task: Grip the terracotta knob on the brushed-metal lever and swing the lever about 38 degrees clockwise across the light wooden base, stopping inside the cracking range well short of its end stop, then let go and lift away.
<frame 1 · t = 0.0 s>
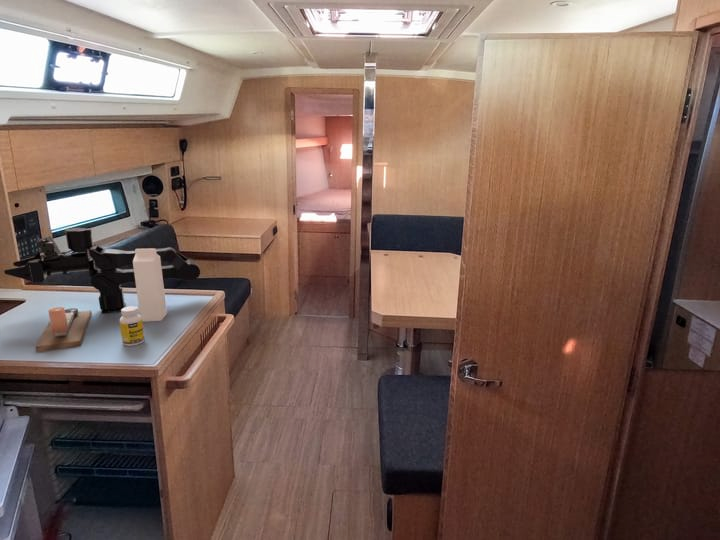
hand: (9, 267, 135), 17 cm above the counter, tool horizontal, fingers open, 9 cm apart
supplement bottle: (134, 342, 125), on the counter
milk: (154, 318, 142), on the counter
lever: (64, 312, 131), point 6 cm above the counter, hinge at 0.0°
light wooden base: (66, 331, 132), on the counter
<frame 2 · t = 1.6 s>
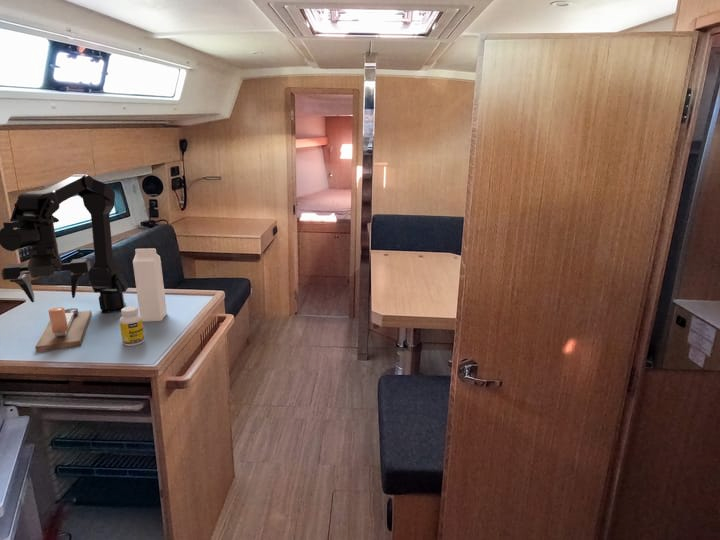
hand: (53, 299, 122), 12 cm above the counter, tool pointing down, fingers open, 9 cm apart
nothing on the counter moved.
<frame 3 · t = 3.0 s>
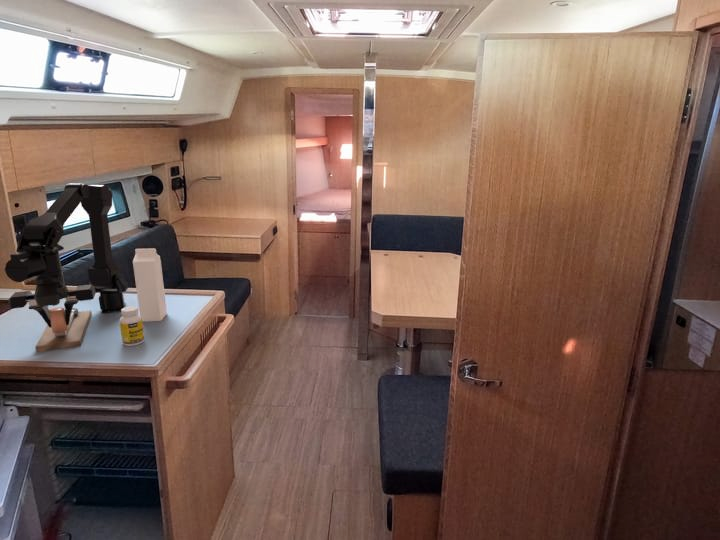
hand: (59, 325, 124), 5 cm above the counter, tool pointing down, fingers closed on lever, 4 cm apart
lever: (64, 312, 131), point 6 cm above the counter, hinge at 0.0°, touching gripper
everything else where it was.
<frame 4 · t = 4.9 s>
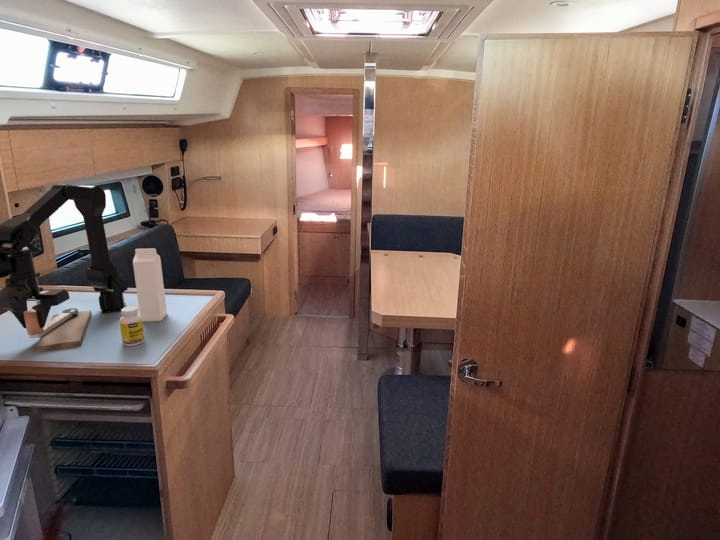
hand: (34, 327, 123), 4 cm above the counter, tool pointing down, fingers open, 4 cm apart
lever: (52, 312, 130), point 6 cm above the counter, hinge at 21.3°, touching gripper
everything else where it was.
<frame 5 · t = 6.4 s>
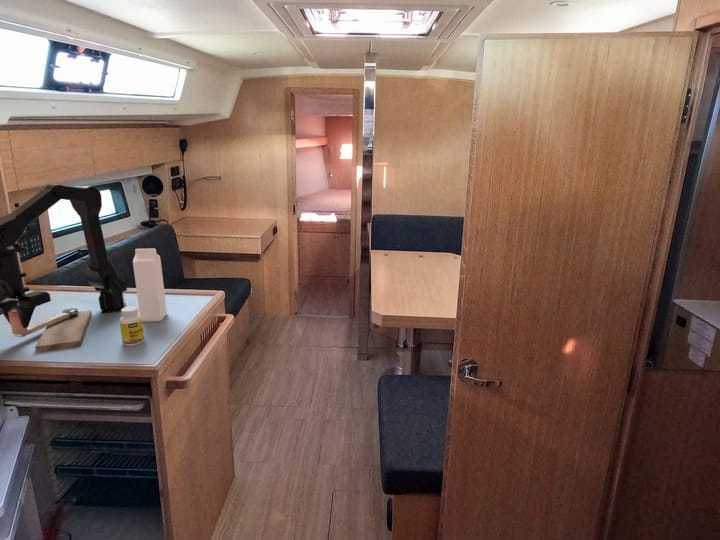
hand: (19, 326, 123), 4 cm above the counter, tool pointing down, fingers closed on lever, 4 cm apart
lever: (45, 312, 131), point 6 cm above the counter, hinge at 37.1°, touching gripper
everything else where it was.
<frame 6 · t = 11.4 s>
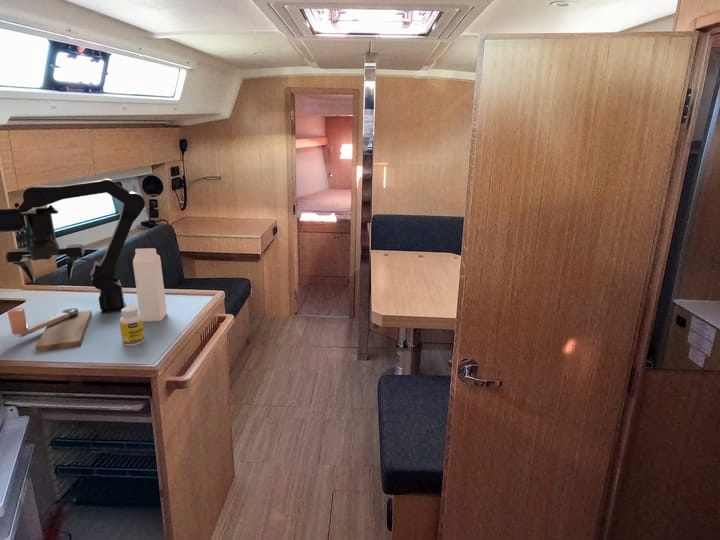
hand: (51, 280, 138), 12 cm above the counter, tool pointing down, fingers open, 9 cm apart
lever: (45, 312, 131), point 6 cm above the counter, hinge at 37.6°
everything else where it was.
at the end: lever at +38° (first picture: +0°); the gripper is holding nothing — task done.
